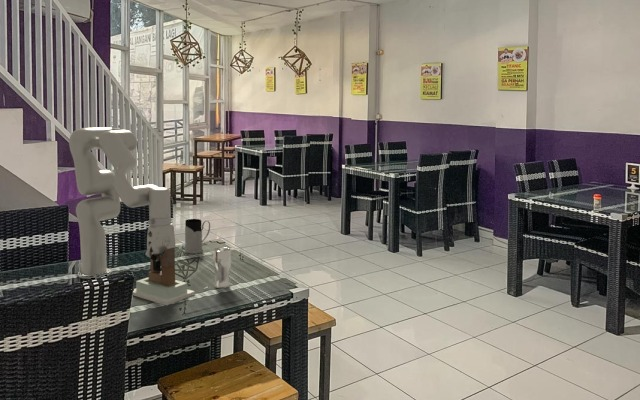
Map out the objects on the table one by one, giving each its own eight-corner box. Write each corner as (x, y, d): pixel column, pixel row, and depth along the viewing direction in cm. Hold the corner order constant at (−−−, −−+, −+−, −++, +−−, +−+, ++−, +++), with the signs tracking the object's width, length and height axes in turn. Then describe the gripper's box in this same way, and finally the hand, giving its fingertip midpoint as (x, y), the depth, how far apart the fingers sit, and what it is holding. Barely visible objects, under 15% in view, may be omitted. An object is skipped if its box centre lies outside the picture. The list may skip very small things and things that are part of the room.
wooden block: (168, 286, 199) (167, 239, 196) (148, 281, 205) (146, 234, 202) (175, 284, 202) (174, 237, 199) (155, 278, 208) (154, 232, 205)
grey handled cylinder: (180, 250, 263) (180, 220, 260) (204, 245, 274) (204, 216, 271) (191, 254, 257) (191, 223, 255) (215, 248, 268) (215, 219, 265)
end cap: (128, 293, 204) (128, 281, 203) (157, 283, 215) (157, 272, 215) (166, 305, 194) (166, 292, 193) (194, 294, 205) (194, 282, 205)
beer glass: (222, 281, 220) (222, 245, 217) (234, 286, 216) (234, 249, 213) (209, 286, 215) (209, 249, 212) (221, 290, 210) (221, 252, 208)
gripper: (149, 226, 191) (151, 277, 194) (184, 218, 205) (185, 265, 208) (134, 223, 194) (136, 273, 198) (169, 216, 208) (170, 262, 212)
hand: (161, 269), depth 203 cm, fingers closed on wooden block, 3 cm apart
